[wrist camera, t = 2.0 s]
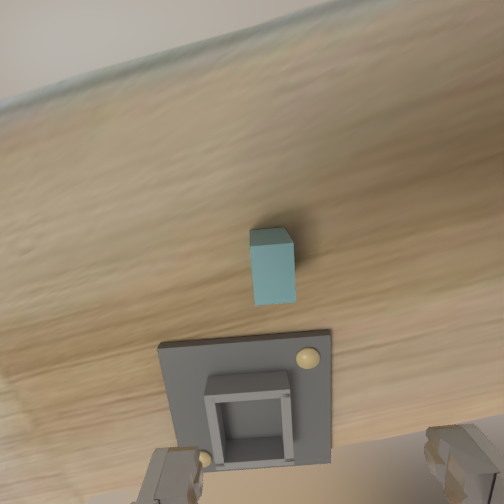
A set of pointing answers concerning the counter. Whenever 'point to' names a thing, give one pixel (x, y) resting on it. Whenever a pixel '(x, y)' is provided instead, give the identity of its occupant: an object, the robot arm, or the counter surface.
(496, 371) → the counter surface
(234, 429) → the housing
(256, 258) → the block
